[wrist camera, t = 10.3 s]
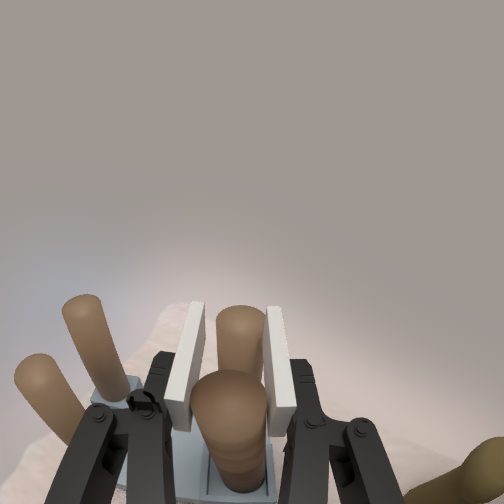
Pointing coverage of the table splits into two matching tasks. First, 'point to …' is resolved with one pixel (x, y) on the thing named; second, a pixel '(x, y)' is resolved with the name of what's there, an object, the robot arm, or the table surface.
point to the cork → (467, 479)
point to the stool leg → (233, 426)
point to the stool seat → (120, 385)
